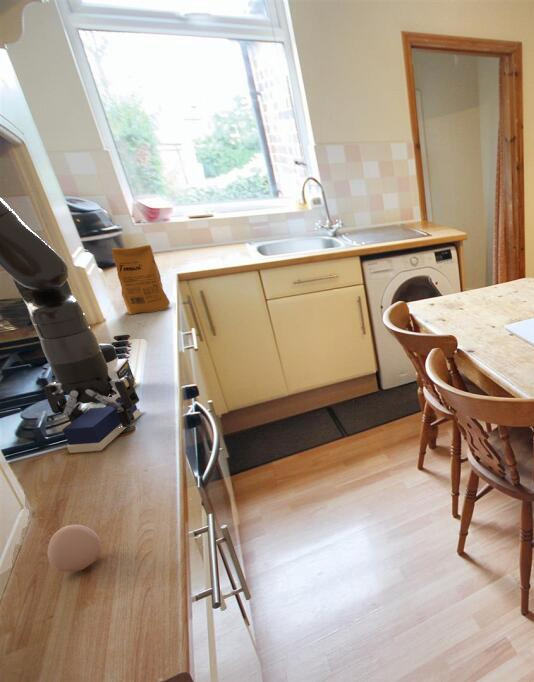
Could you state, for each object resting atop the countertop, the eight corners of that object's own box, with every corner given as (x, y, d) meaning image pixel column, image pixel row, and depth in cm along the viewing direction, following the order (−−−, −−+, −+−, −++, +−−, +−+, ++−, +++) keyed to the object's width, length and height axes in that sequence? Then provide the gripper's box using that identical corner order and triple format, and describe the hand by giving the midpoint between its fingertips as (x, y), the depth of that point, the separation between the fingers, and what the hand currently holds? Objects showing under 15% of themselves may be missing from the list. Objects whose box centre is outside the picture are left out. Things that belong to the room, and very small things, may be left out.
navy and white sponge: (101, 450, 89) (91, 428, 87) (69, 453, 88) (59, 430, 86) (141, 414, 100) (133, 394, 98) (114, 416, 100) (105, 395, 98)
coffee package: (130, 307, 165) (109, 245, 156) (172, 302, 170) (154, 242, 162) (124, 316, 157) (101, 251, 148) (168, 310, 162) (149, 247, 154)
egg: (56, 588, 61) (34, 550, 58) (61, 562, 65) (41, 525, 62) (106, 569, 64) (87, 532, 61) (108, 545, 68) (91, 509, 65)
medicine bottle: (127, 398, 107) (108, 350, 102) (88, 404, 104) (68, 355, 100) (137, 384, 113) (120, 338, 108) (100, 389, 110) (82, 343, 106)
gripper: (128, 343, 91) (154, 414, 98) (48, 348, 90) (80, 419, 96) (102, 359, 84) (132, 434, 91) (15, 365, 83) (52, 440, 89)
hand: (105, 426), depth 93 cm, fingers open, 8 cm apart
